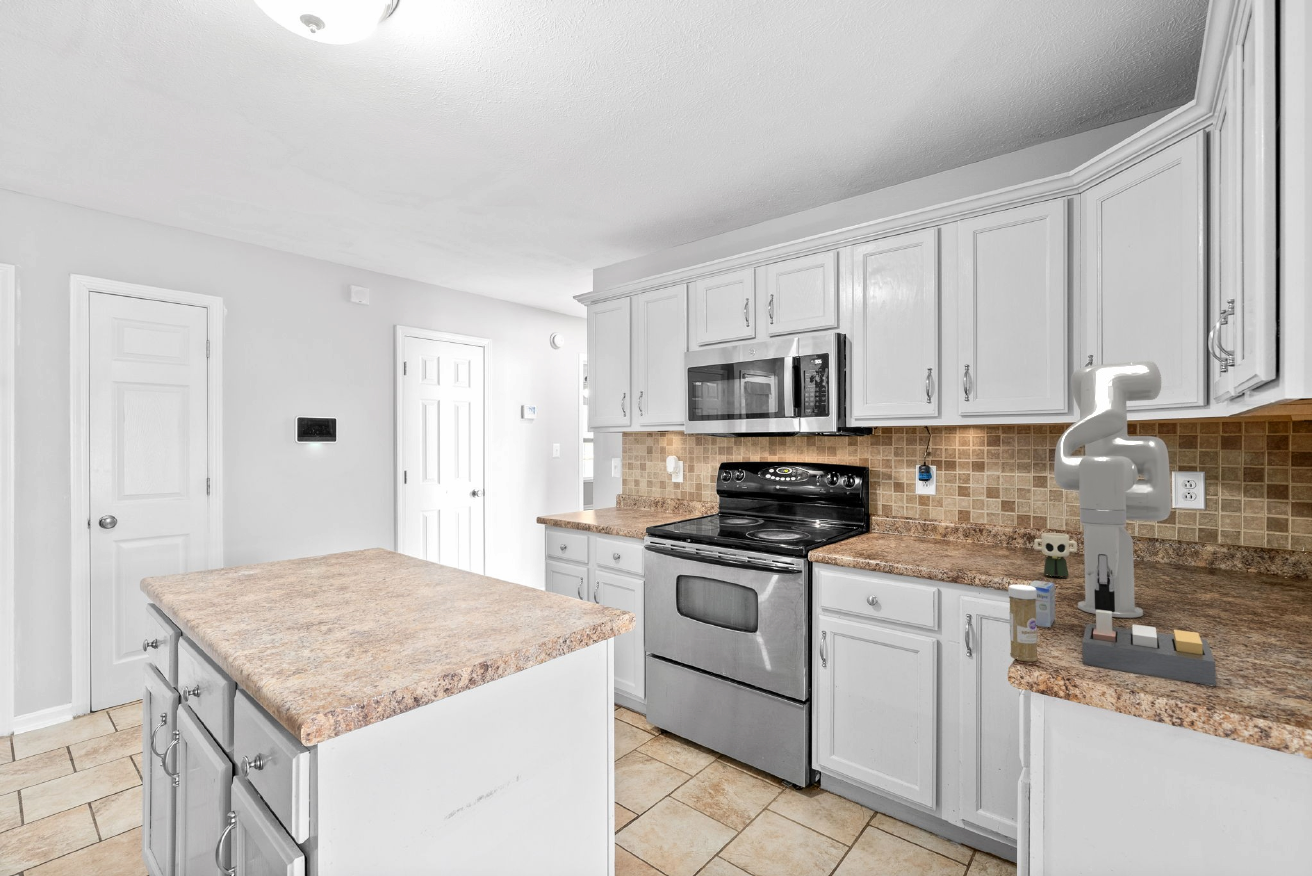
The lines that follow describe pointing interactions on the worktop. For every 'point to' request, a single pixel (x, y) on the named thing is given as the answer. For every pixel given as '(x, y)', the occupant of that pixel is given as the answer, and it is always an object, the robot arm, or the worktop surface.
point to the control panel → (1149, 657)
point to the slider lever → (1104, 626)
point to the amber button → (1188, 642)
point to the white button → (1144, 636)
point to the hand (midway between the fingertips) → (1104, 610)
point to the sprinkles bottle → (1023, 622)
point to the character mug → (1055, 552)
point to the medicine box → (1044, 603)
